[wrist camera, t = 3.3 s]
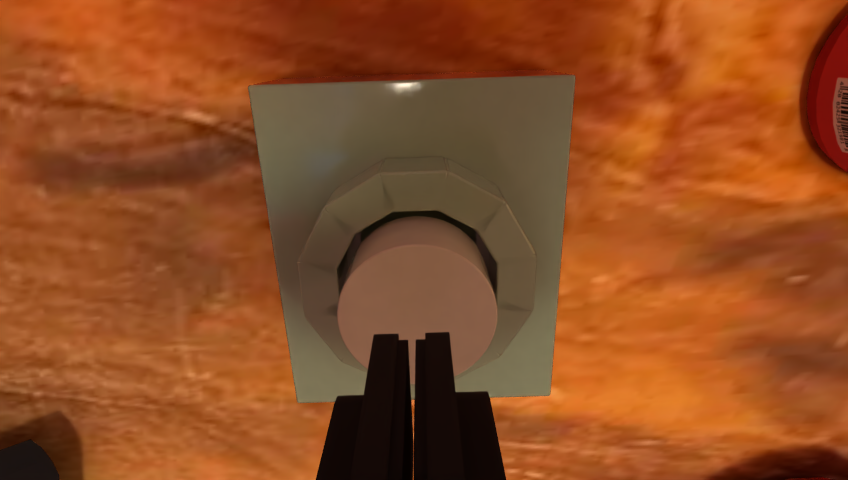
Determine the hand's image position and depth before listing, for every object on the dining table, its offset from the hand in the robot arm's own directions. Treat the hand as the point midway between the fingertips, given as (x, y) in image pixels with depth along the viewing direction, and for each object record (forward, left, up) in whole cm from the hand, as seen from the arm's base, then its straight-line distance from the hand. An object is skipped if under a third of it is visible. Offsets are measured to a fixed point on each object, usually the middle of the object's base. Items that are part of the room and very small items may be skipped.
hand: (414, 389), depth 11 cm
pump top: (0, 0, -5) cm, 5 cm away
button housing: (0, 0, -11) cm, 11 cm away
